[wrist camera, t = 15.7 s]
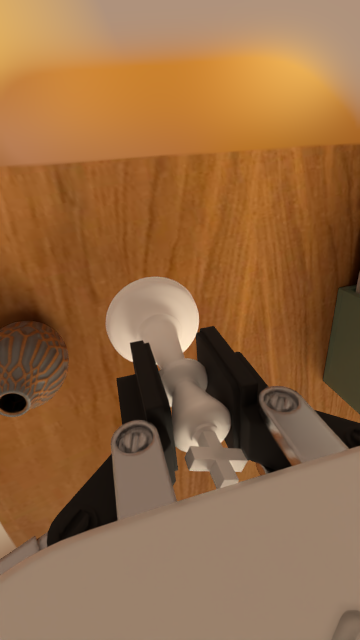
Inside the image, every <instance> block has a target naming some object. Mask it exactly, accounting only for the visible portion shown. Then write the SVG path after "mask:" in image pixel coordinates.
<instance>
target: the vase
mask: <svg viewBox="0 0 360 640" xmlns="http://www.w3.org/2000/svg"><path fill="white" fill-rule="evenodd" d="M68 362H69V359H68V351H67V348H66V345H65V343H64V341H63V339H62V338H61V336H60V335H59V334H58V333H57V332H56V331H55V330H54V329H52V328H51V327H49V326H47V325H45V324H43V323H40V322H35V321H20V322H15V323H11V324H9V325H7V326H4V327H3V328H1V329H0V414H1V415H4V416H8V417H16V416H20V415H23V414H24V413H26V412H27V411H28V410H30V409H33V408H36V407H38V406H40V405H42V404H44V403H45V402H47V401H48V400H50V399H51V398H52V397H53V396H54V395H55V394H56V393H57V391H58V390H59V389H60V387H61V386H62V384H63V382H64V380H65V378H66V375H67V371H68Z"/></svg>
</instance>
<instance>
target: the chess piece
mask: <svg viewBox="0 0 360 640" xmlns="http://www.w3.org/2000/svg"><path fill="white" fill-rule="evenodd" d="M198 325H199V314H198V309H197V306H196V304H195V301H194V299H193V297H192V295H191V294H190V293H189V291H188V290H187V289H186V288H185V287H184V286H182V285H181V284H179V283H178V282H176V281H174V280H171V279H168V278H164V277H147V278H143V279H139V280H137V281H134V282H132V283H130V284H129V285H127V286H126V287H124V288H123V289H122V290H121V291H120V292H119V293H118V294H117V295H116V296H115V297H114V299H113V300H112V302H111V304H110V306H109V308H108V311H107V316H106V329H107V333H108V336H109V339H110V340H111V343H112V345H113V346H114V348H115V349H116V350H117V352H118V353H119V354H120V355H122V356H123V357H124V358H126V359H127V360H129V361H131V362H133V359H132V353H131V348H130V343H131V342H136V341H141V340H143V342H144V343H149V344H150V347H151V350H152V353H153V356H154V359H155V362H156V365H157V364H158V366H159V367H160V369H161V370H160V371H159V374H160V377H161V380H162V383H163V386H164V388H165V391H166V394H167V397H168V401H169V405H170V407H172V425H173V433H174V441H175V446H176V447H177V448H178V449H180V450H182V451H184V452H187V453H186V456H185V460H186V463H187V466H188V469H189V471H210V474H211V476H212V479H213V481H214V483H215V486H216V488H217V489H219V488H223V487H226V486H229V485H232V484H236V483H237V482H238V480H239V479H238V477H237V475H236V473H235V472H242V470H243V468H244V466H245V464H246V463H247V459H246V457H245V455H244V454H243V452H242V450H241V449H237V448H223V447H222V445H221V442H222V441H223V440H224V438H225V437H226V436H227V434H228V432H229V430H230V427H231V416H230V412H229V411H228V409H227V408H226V407H225V406H224V405H223V404H222V403H221V402H219V401H218V400H217V399H215V398H213V397H212V396H210V395H209V394H208V393H207V392H206V391H205V390H206V388H207V385H208V377H207V374H206V369H205V367H204V366H203V365H202V364H201V363H200V362H198V361H196V360H193V359H186V358H184V355H183V352H184V351H185V350H186V349H187V348H188V347H189V346H190V344H191V343H192V341H193V340H194V338H195V336H196V333H197V330H198Z"/></svg>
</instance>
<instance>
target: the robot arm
mask: <svg viewBox="0 0 360 640" xmlns="http://www.w3.org/2000/svg"><path fill="white" fill-rule="evenodd" d="M196 345H197V360H198V362H200V363H201V364H202V365H203V366H204V367H205V369H206V374H207V377H208V385H207V388H206V390H205V391H206V392H207V393H208V394H209V395H210V396H212V397H213V398H215V399H217V400H218V401H219V402H221V403H222V404H223V405H224V406H225V407H226V408H227V409H228V411H229V412H230V416H231V427H230V430H229V432H228V434H227V436H226V437H225V438H224V440H225V442H226V444H227V446H228V448H237V449H241V450H242V452H243V454H244V455H245V457H246V459H247V460H251V461H254V462H256V467H257V470H258V472H259V474H260V475H261V476H258V477H255V478H252V479H249V480H245V481H242V482H239V483H236V484H232V485H229V486H226V487H223V488H219V489H216V490H213V491H210V492H206V493H203V494H200V495H197V496H194V497H190V498H187V499H184V500H181V501H178V502H177V500H176V497H175V493H174V489H173V485H174V483H175V481H176V479H175V471H177V470H178V466H177V458H176V450H175V441H174V433H173V425H172V417H171V410H170V405H169V401H168V397H167V394H166V391H165V388H164V386H163V383H162V380H161V377H160V374H159V371H158V368H157V365H156V362H155V359H154V356H153V353H152V350H151V347H150V344H149V343H144V342H143V340H141V341H136V342H131V343H130V348H131V353H132V359H133V364H134V370H135V374H134V375H130V376H125V377H121V378H117V387H118V394H119V402H120V410H121V418H122V426H120V427H119V428H118V429H117V430H116V431H115V432H114V434H113V436H112V438H111V451H112V454H111V455H110V456H109V457H108V459H107V460H106V461H105V462H104V463H103V464H102V465H101V467H100V468H99V469H98V470H97V471H96V472H95V473H94V474H93V476H92V477H91V478H90V479H89V480H88V481H87V482H86V484H85V485H84V486H83V487H82V488H81V489H80V490H79V491H78V493H77V494H76V495H75V496H74V497H73V498H72V499H71V500H70V502H69V503H68V504H67V505H66V506H65V507H64V508H63V510H62V511H61V512H60V513H59V514H58V515H57V517H56V518H55V519H54V521H53V522H52V524H51V526H50V529H49V531H48V532H47V533H46V534H44V535H43V536H41V537H40V538H38V539H36V537H35V536H34V537H32V538H31V539H29V540H28V541H26V542H25V543H23V544H22V545H21V546H19V547H18V548H16V549H15V550H13V551H12V552H10V553H9V554H7V555H6V556H4V557H3V558H1V559H0V640H360V423H357V422H354V421H350V420H347V419H343V418H340V417H337V416H333V415H330V414H326V413H323V412H320V411H316V410H313V409H312V407H311V406H310V405H309V404H308V403H307V402H306V401H305V400H304V399H303V398H302V396H301V395H300V394H298V393H297V392H296V391H294V390H292V389H290V388H287V387H283V386H272V387H268V385H267V384H266V383H265V382H264V381H263V379H262V378H261V377H260V376H259V374H258V373H257V372H256V371H255V370H254V368H253V367H252V366H251V365H250V363H249V362H248V361H247V360H246V358H245V357H244V356H243V355H242V354H241V353H240V352H235V353H234V351H233V350H232V349H231V348H230V346H229V345H228V344H227V342H226V341H225V340H224V339H223V337H222V336H221V335H220V333H219V332H218V331H217V330H216V328H215V327H214V326H211V327H206V328H201V329H200V332H198V333H196Z"/></svg>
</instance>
